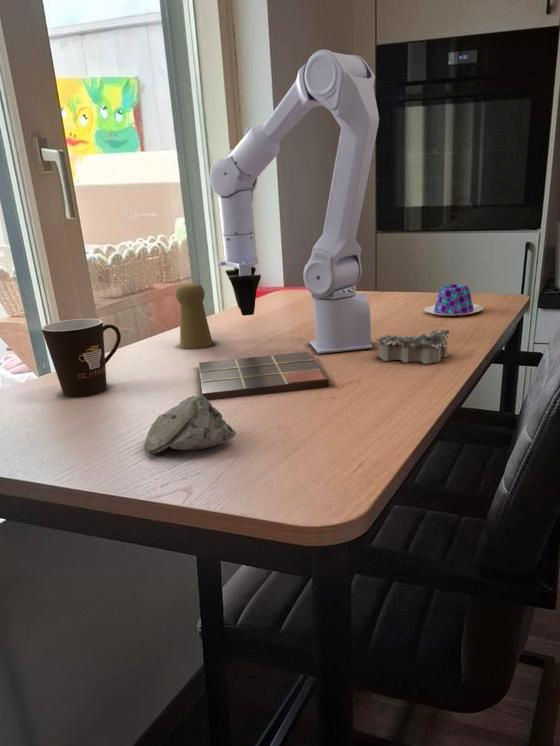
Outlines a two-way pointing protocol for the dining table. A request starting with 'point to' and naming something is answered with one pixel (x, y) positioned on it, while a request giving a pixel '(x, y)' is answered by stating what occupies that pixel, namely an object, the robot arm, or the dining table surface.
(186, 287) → the olive pawn
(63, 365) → the coffee mug
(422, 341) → the egg carton
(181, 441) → the fossilized seashell
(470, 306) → the pudding
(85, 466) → the dining table surface
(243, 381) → the board
